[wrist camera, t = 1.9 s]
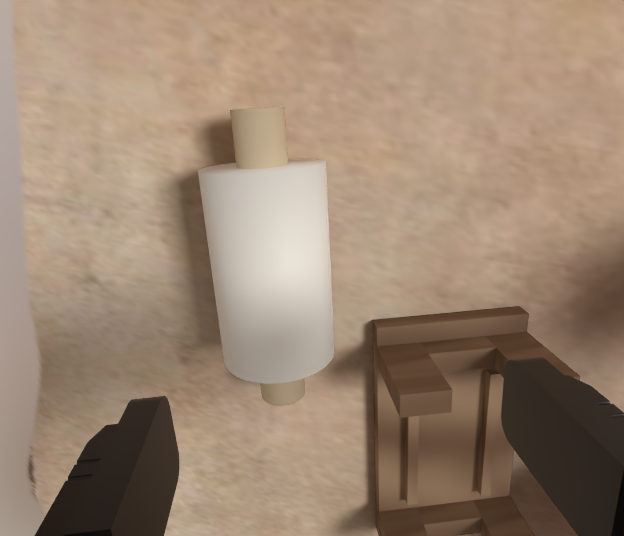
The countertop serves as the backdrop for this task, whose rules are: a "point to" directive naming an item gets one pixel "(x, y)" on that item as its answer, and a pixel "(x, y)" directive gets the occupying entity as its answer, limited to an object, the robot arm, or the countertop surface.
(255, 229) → the roll
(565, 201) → the countertop surface
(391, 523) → the holder
